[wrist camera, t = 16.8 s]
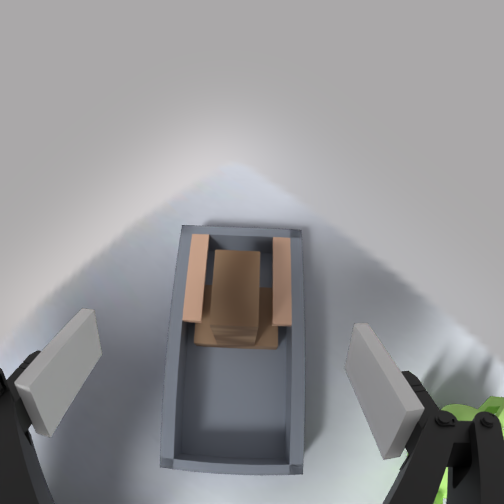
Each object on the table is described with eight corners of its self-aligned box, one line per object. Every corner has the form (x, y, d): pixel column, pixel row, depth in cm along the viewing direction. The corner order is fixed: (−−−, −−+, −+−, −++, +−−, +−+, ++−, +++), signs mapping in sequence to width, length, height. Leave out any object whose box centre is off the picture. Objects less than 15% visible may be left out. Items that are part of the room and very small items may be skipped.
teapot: (397, 411, 29) (447, 409, 20) (474, 396, 29) (528, 385, 21) (393, 507, 24) (438, 531, 15) (471, 482, 24) (523, 490, 15)
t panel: (196, 346, 32) (178, 322, 23) (200, 290, 34) (187, 248, 26) (275, 349, 32) (289, 327, 23) (276, 293, 34) (288, 252, 26)
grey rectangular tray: (170, 459, 27) (160, 467, 23) (187, 244, 37) (182, 225, 33) (295, 465, 27) (302, 474, 23) (295, 248, 38) (301, 229, 34)
